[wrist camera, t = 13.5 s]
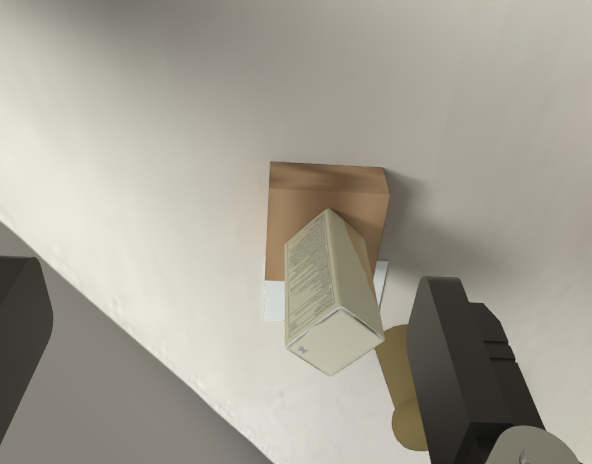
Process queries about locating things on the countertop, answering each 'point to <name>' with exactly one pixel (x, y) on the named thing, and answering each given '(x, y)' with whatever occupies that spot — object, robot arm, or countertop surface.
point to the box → (330, 295)
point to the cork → (401, 389)
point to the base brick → (323, 205)
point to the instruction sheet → (276, 293)
